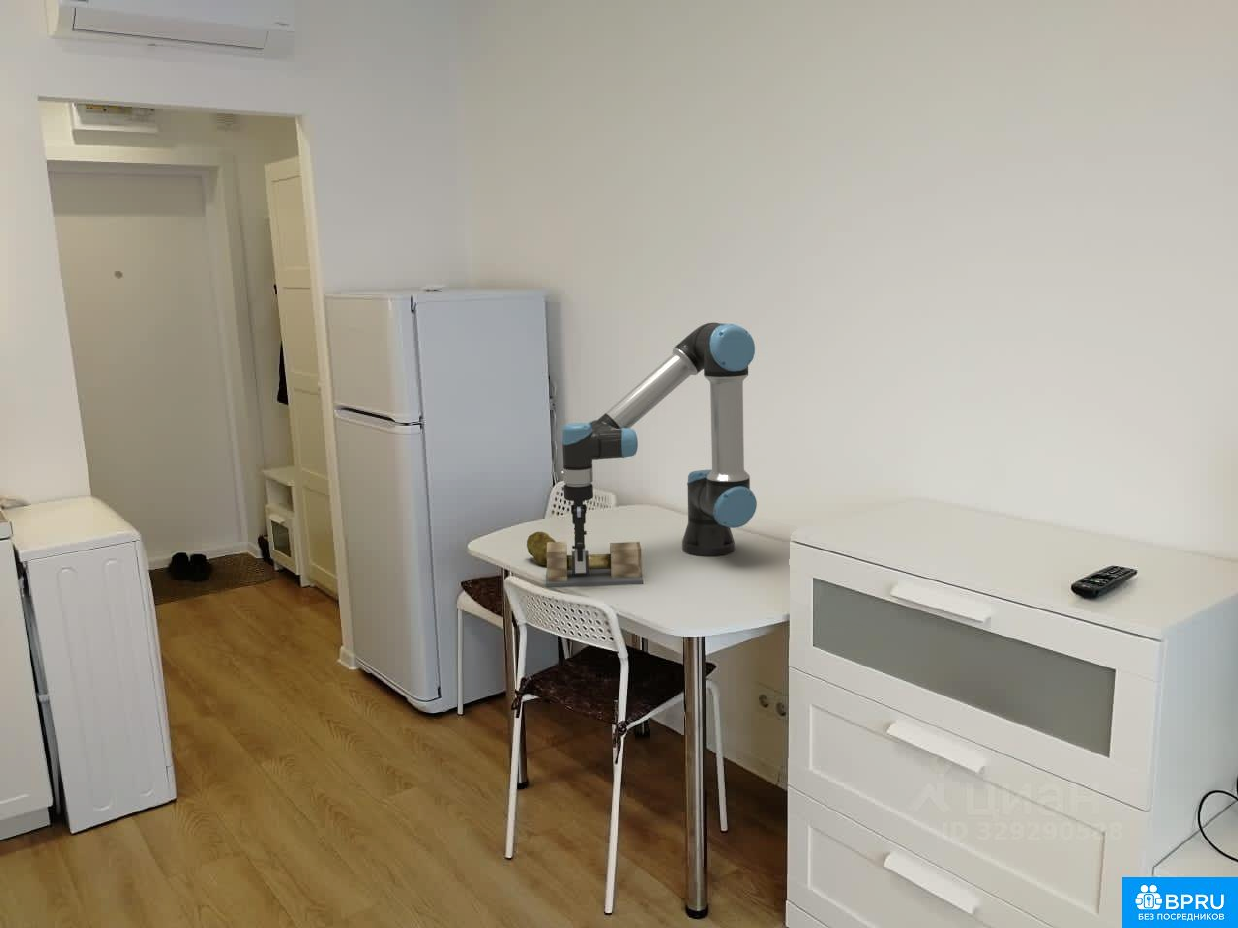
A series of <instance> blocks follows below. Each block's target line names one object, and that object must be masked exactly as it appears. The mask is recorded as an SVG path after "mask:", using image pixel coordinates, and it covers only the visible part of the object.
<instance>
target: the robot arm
mask: <svg viewBox="0 0 1238 928" xmlns="http://www.w3.org/2000/svg"><path fill="white" fill-rule="evenodd" d="M755 353H756V346H755V341H754V339H753V337H752V334H751V333H749V332H748V330H746V329H745V328H744V327H742V326H739V325H737V324H735V323H734V324H733V323H721V322H720V323H719V322H707V323H705V324H702V325H700V326H698V327H697V328H696V329H694V330H693V331H692V332H690V334H688V335H687V336H686V337H685V338H683V340H681V341H680V342H679V343H678V344H677V345H675V346H674V347H673V348H672V354H671V355H670V356H669V357H667V359H666V360H664V361H663V362H662V363H661V364H660V365H659V366H658V367H656V368H655V369H654V370H653V371H652V372H651V373H649V374H648V375H647V376H646V377H645V378H644V379H643V380H641V381H640V383H638V384H637V385H636V386H635V387H634V388H632V389H631V390H630V391H629V392H627V394H626V395H624V396H623V397H622V398H621V399H620V400H619V401H618V402H616V403H615V404H614V405H613V406H612V407H610V409H608V410H607V411H606V412H605V413H603V414H602V415H601V416H600V417H599V418H598V419H594V420H590V421H589V422H587V423H586V422H585V423H584V422H574V423H573V422H572V423H567V424H564V425H563V427H562V429H561V431H562V432H561V451H562V471H561V472H560V475H561V476H563V483H564V485H563V487H562V488H563V498H564V500H566V501H568V502H573V504H570V512H571V517H572V524H573V526H574V527H573V530H574V545H571V549H572V550H574V551H575V573H586V558H585V551H586V544H585V543H586V542H585V541H586V540H585V539H586V538H585V536H587V535H588V534H587V533H588V532H587V530H585V524H586V523H587V522H586V521H587V519H586V518H587V517H586V515H587V504H584V501H589V500H591V499H593V498H594V492H593V491H594V489H593V484H592V483H593V481H594V480H593V479H594V475H593V472H594V471H593V461H595V460H608V459H609V460H610V459H626V458H629V457H631V458H632V457H634V456H636V454H637V451H638V447H639V443H638V442H639V441H638V436H637V432H636V431H635V430H634V429H633V428H632V427H633V426H635V424H636V423H637V422H639V421H640V420H641V419H642V418H643V417H645V415H647V414H648V413H649V412H650V411H651V410H653V409H654V408H655V407H656V406H657V405H659V403H660V402H662V401H663V400H664V399H665V398H666V397H667V396H668V395H669V394H671V393H672V392H673V391H674V390H675V389H676V388H677V387H678V386H680V385H681V384H682V383H683V382H684V381H685V380H687V379H688V378H689V377H691V376H697V375H698V374H699V373H700V372H701V371H703V374H704V375H703V376H704V377H705V379H706V380H707V381H708V382H709V388H710V390H709V391H710V392H709V393H710V395H709V396H710V430H711V433H710V435H711V440H710V441H711V443H710V445H711V469H700V470H692V471H690V472H689V474H688V475H687V484H686V485H687V525H686V527H685V531H684V534H683V537H682V541H681V549H682V550H683V551H684V552H685V553H688V554H690V555H695V556H708V557H709V556H710V557H711V556H722V555H726V554H731V553H732V552H734V551H735V549H736V541H735V537H734V534H733V531H732V529H735V528H740V527H742V526H745V525H746V524H748V523H749V522H750V521H751V520H752V518H754V516H755V513H756V512H757V511H756V510H757V506H758V504H757V503H758V501H757V498H756V495H755V493H754V491H752V490H751V477H750V474H749V473H748V472H747V471H746V470H745V465H744V464H745V462H744V461H745V460H744V459H745V457H744V456H745V455H744V450H745V449H744V401H743V400H744V395H743V394H744V393H743V392H744V387H743V384H744V383H743V382H744V380H745V379H747V377H748V376H749V365H750V364H751V363H752V362H753V360H754V358H755ZM731 528H732V529H731Z"/></svg>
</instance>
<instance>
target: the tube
mask: <svg viewBox="0 0 1238 928" xmlns="http://www.w3.org/2000/svg"><path fill="white" fill-rule="evenodd" d="M566 557H567V570H572V574H589V570H595V569H611V554H610V553H592V554H591V553H589V550H588V549H587V550H586V549H585V558H586V573H575V550H571V554H567V556H566Z"/></svg>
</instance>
